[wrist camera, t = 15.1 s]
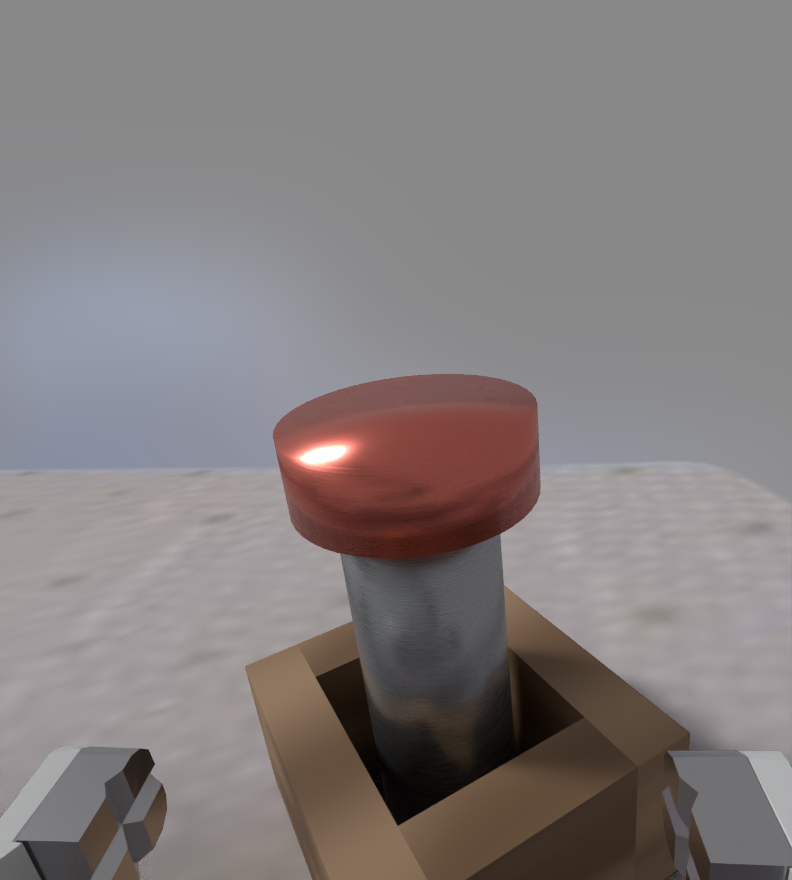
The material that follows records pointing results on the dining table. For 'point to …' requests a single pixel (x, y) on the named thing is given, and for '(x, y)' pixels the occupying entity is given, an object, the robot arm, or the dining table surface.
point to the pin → (421, 559)
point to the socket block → (490, 797)
